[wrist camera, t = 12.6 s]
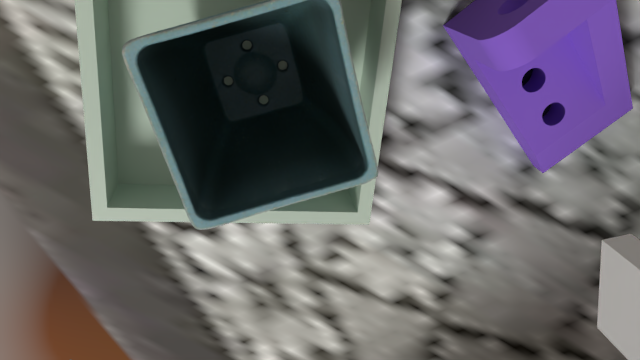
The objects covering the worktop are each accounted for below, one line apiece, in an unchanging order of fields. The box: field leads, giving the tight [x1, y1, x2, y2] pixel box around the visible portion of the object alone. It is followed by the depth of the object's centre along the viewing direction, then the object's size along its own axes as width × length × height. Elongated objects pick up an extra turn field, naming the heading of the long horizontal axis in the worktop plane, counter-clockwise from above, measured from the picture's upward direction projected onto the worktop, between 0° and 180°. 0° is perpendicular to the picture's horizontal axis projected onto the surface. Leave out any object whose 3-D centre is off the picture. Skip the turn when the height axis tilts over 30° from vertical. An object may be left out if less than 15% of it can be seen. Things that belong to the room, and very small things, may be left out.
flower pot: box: [122, 0, 378, 230], centre depth 27 cm, size 9×9×9 cm
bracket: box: [443, 0, 633, 173], centre depth 31 cm, size 12×7×7 cm, turn 38°
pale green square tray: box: [75, 0, 402, 225], centre depth 30 cm, size 16×16×4 cm
